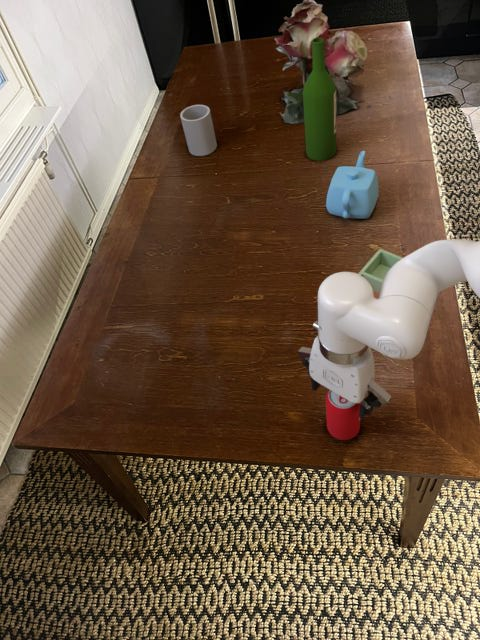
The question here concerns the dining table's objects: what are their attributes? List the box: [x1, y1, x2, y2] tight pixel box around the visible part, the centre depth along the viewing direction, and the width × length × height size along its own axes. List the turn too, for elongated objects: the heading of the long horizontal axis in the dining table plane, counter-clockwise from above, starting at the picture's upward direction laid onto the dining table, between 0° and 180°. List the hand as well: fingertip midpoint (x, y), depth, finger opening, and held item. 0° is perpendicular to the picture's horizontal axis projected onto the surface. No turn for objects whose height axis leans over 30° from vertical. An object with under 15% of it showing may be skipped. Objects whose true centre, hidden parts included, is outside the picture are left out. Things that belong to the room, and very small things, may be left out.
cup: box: [179, 104, 218, 157], centre depth 164 cm, size 9×9×12 cm
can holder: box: [357, 248, 404, 299], centre depth 119 cm, size 9×17×5 cm, turn 141°
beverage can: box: [325, 389, 361, 441], centre depth 97 cm, size 6×6×12 cm
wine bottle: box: [302, 38, 337, 162], centre depth 145 cm, size 9×9×32 cm
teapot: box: [325, 150, 380, 220], centre depth 136 cm, size 12×18×12 cm
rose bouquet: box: [274, 0, 369, 125], centre depth 165 cm, size 26×29×30 cm
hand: (341, 398), depth 93 cm, fingers open, 9 cm apart
